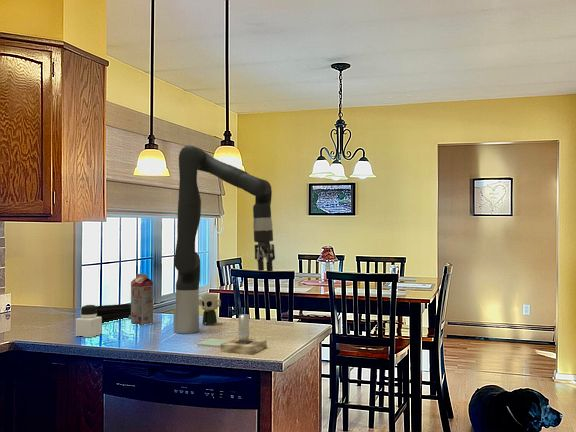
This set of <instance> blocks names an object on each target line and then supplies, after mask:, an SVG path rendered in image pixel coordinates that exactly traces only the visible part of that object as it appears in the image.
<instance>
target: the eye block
mask: <svg viewBox="0 0 576 432" xmlns="http://www.w3.org/2000/svg"><path fill="white" fill-rule="evenodd" d="M229 340H230V341H228V342H225V343H223V344H221V347H220V353H221V352H222V353H230V354H231V353H233V354H243V355H244V354H245V355H254V354H256V353H258V352H260V351H262V350H264V349H267V348H268V347H267V346H268V344H267V343H268V342H267V341H268V340H267V339H256V338H249V344H239V337H235V338H233V339H229Z"/></svg>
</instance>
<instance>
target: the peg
mask: <svg viewBox="0 0 576 432" xmlns="http://www.w3.org/2000/svg"><path fill="white" fill-rule="evenodd" d="M238 338H239V344H249V339H250V314H247V313H245V314H243V313H241V314H238Z"/></svg>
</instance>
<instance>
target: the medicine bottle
mask: <svg viewBox="0 0 576 432" xmlns="http://www.w3.org/2000/svg"><path fill="white" fill-rule="evenodd" d="M97 306H98V305H94V304H84V305H82V306H81V307H80V317H78V318H75V337H76V336H84V337H92V338H94V337H93V336H95V337H97V336H96V335H99V336H101V335H100V334H103V332H102V331H103V326H102V325H103V324H102V321H103V319H102V317H96V315H97ZM84 337H83V338H84Z"/></svg>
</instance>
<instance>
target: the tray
mask: <svg viewBox="0 0 576 432" xmlns="http://www.w3.org/2000/svg"><path fill="white" fill-rule="evenodd" d="M96 306H97V315H96V317H102V323H104V322H109V321H113V320H118V319H123V318H128V317H129V318H130V317H131V303H120V304H118V303H117V304H108V305H107V304H106V305H96Z"/></svg>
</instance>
